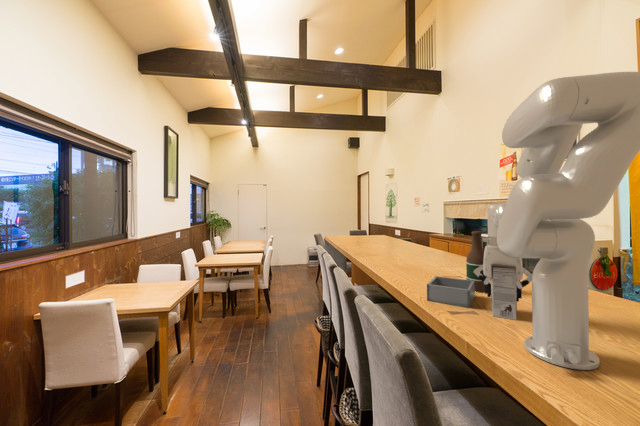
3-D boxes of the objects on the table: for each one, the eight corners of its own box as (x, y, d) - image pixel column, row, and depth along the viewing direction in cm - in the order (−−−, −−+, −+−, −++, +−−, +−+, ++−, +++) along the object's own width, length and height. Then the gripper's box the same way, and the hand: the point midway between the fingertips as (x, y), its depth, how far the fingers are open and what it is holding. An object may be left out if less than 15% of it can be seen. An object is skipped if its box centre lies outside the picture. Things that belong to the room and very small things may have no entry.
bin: (470, 308, 88) (469, 290, 88) (427, 300, 96) (426, 284, 96) (474, 296, 99) (474, 280, 99) (435, 290, 107) (435, 276, 107)
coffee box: (490, 306, 89) (489, 259, 89) (513, 310, 86) (513, 260, 85) (491, 316, 81) (490, 264, 81) (517, 320, 78) (516, 266, 78)
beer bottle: (462, 288, 110) (461, 231, 109) (476, 285, 112) (475, 230, 112) (478, 293, 102) (477, 232, 102) (493, 291, 105) (492, 231, 104)
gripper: (469, 242, 85) (470, 296, 85) (538, 245, 75) (539, 307, 75) (471, 239, 91) (472, 290, 91) (536, 242, 81) (537, 299, 81)
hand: (502, 297), depth 83 cm, fingers closed on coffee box, 6 cm apart
